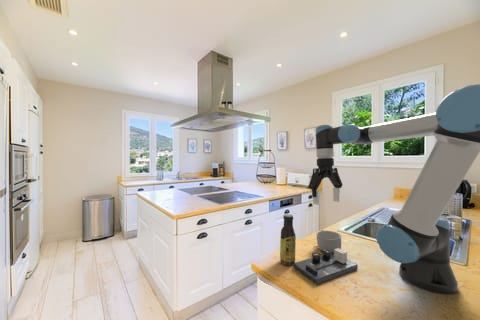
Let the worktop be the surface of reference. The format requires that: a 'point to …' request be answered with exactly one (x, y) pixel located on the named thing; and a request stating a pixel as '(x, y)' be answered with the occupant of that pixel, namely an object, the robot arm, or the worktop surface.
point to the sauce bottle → (287, 241)
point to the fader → (340, 255)
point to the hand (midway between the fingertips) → (326, 202)
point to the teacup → (328, 240)
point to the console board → (323, 267)
